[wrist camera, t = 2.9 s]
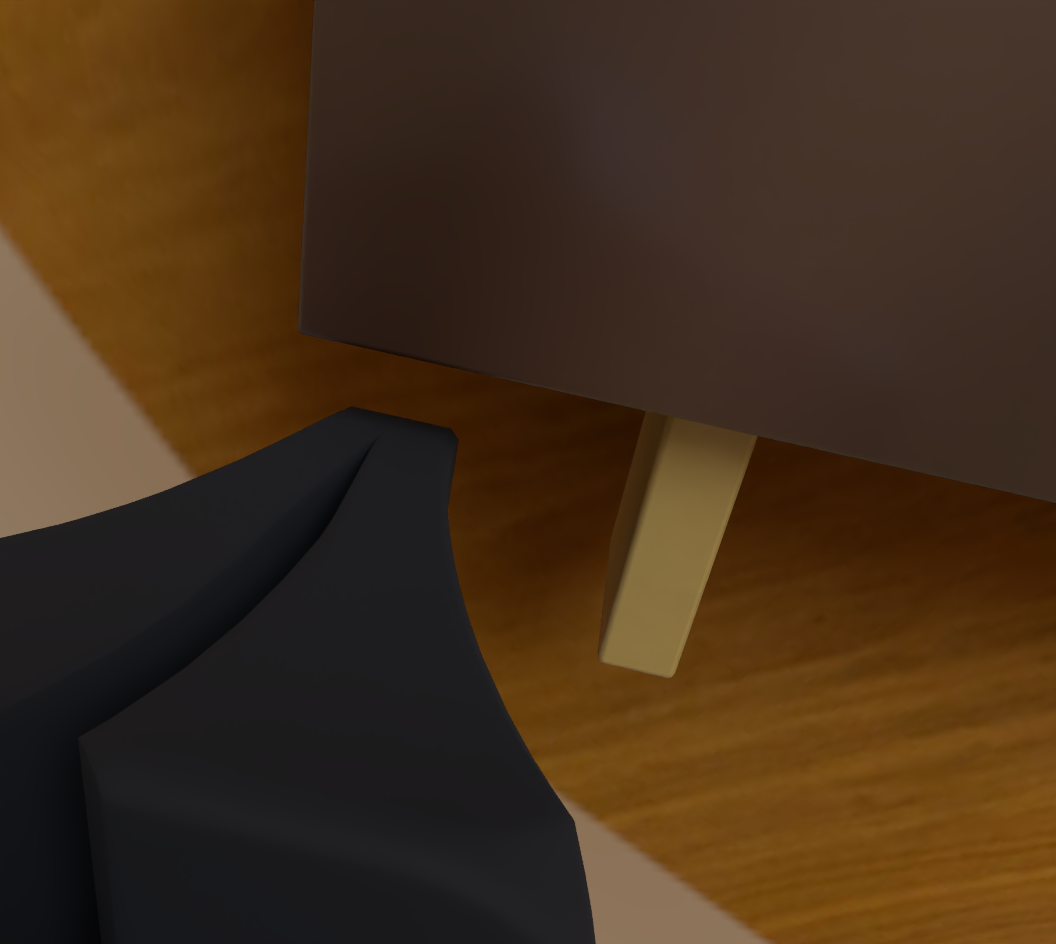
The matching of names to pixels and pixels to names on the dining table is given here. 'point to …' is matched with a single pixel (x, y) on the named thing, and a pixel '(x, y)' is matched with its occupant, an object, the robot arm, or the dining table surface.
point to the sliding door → (667, 538)
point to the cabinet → (706, 212)
